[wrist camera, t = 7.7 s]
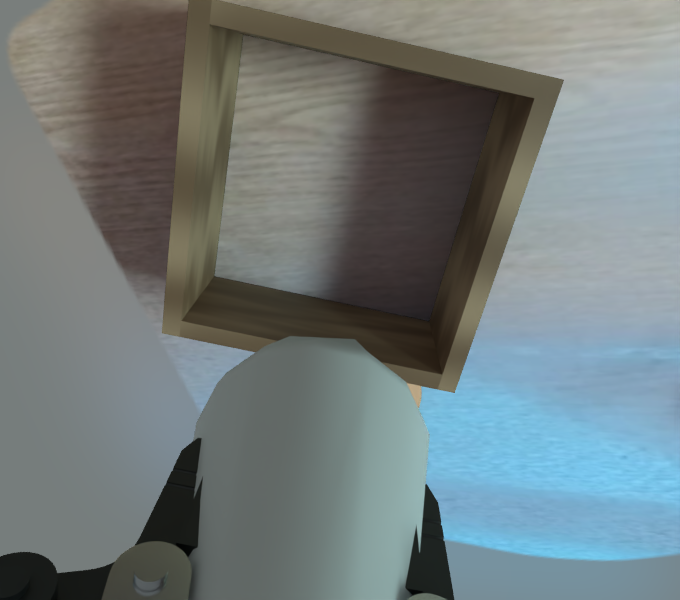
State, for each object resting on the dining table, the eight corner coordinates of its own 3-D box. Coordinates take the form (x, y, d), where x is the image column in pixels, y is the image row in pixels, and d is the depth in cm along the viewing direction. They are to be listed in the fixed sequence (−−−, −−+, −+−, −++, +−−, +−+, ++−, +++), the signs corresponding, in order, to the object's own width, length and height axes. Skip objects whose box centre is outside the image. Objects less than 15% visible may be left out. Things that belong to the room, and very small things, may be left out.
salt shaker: (249, 482, 17) (-28, 1461, 5) (196, 323, 15) (-518, 1381, 3) (432, 459, 16) (617, 1529, 4) (405, 289, 14) (625, 1492, 2)
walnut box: (227, 10, 30) (189, -7, 23) (521, 78, 30) (563, 79, 24) (198, 286, 36) (161, 333, 30) (439, 337, 37) (454, 392, 30)
